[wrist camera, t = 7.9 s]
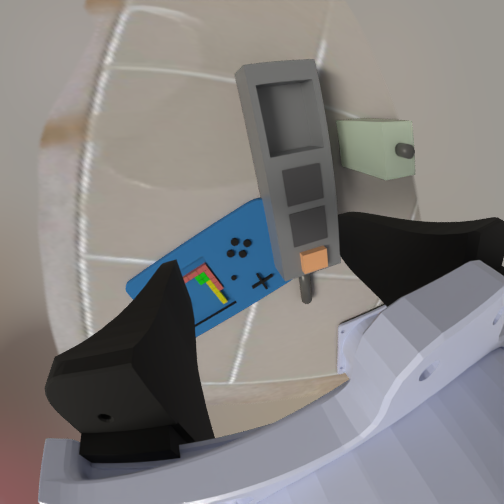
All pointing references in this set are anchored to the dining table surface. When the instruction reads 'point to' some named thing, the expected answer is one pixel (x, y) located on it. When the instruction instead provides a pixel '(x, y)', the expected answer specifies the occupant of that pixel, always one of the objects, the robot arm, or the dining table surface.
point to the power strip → (292, 165)
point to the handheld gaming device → (223, 266)
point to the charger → (377, 147)
